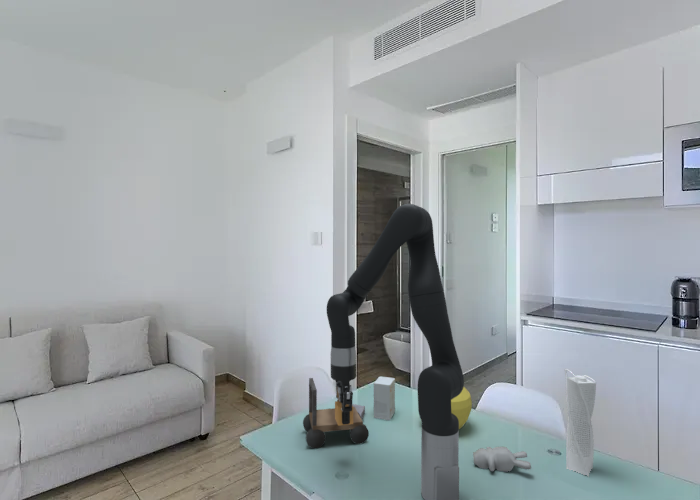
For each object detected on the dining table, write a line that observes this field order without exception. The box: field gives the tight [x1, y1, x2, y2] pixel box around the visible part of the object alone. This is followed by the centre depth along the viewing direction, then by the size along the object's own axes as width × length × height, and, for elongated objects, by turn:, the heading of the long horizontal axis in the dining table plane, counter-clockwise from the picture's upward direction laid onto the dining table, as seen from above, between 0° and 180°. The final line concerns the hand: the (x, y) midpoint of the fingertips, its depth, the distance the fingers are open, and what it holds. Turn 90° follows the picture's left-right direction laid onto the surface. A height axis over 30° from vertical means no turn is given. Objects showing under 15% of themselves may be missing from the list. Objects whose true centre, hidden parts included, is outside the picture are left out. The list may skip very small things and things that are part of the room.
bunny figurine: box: [472, 446, 532, 472], centre depth 112 cm, size 10×5×15 cm
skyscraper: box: [564, 368, 597, 478], centre depth 112 cm, size 8×8×28 cm
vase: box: [451, 386, 473, 430], centre depth 137 cm, size 18×18×30 cm
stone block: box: [352, 403, 366, 420], centre depth 144 cm, size 12×5×10 cm
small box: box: [373, 376, 396, 421], centre depth 147 cm, size 8×6×13 cm
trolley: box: [302, 377, 370, 449], centre depth 129 cm, size 20×12×18 cm, turn 102°
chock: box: [334, 401, 353, 426], centre depth 114 cm, size 5×4×5 cm
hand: (343, 419), depth 114 cm, fingers closed on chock, 5 cm apart
